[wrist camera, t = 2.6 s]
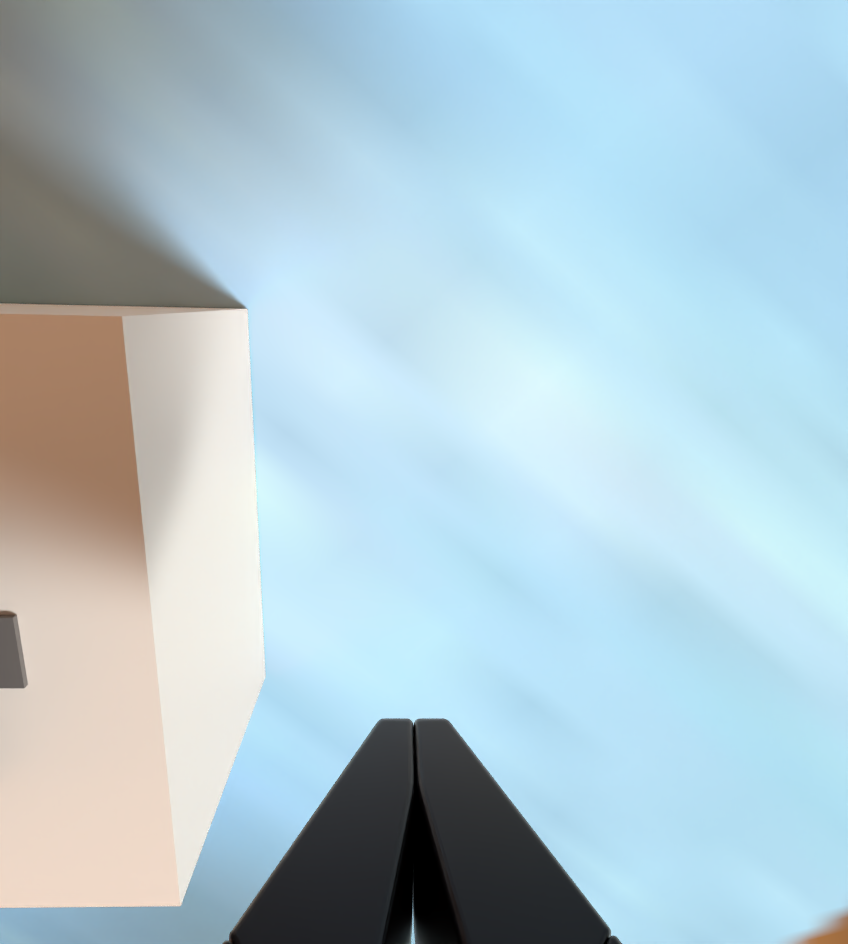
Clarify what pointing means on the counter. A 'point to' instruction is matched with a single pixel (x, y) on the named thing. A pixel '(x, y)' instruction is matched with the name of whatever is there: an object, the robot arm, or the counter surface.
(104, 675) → the board
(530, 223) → the counter surface
